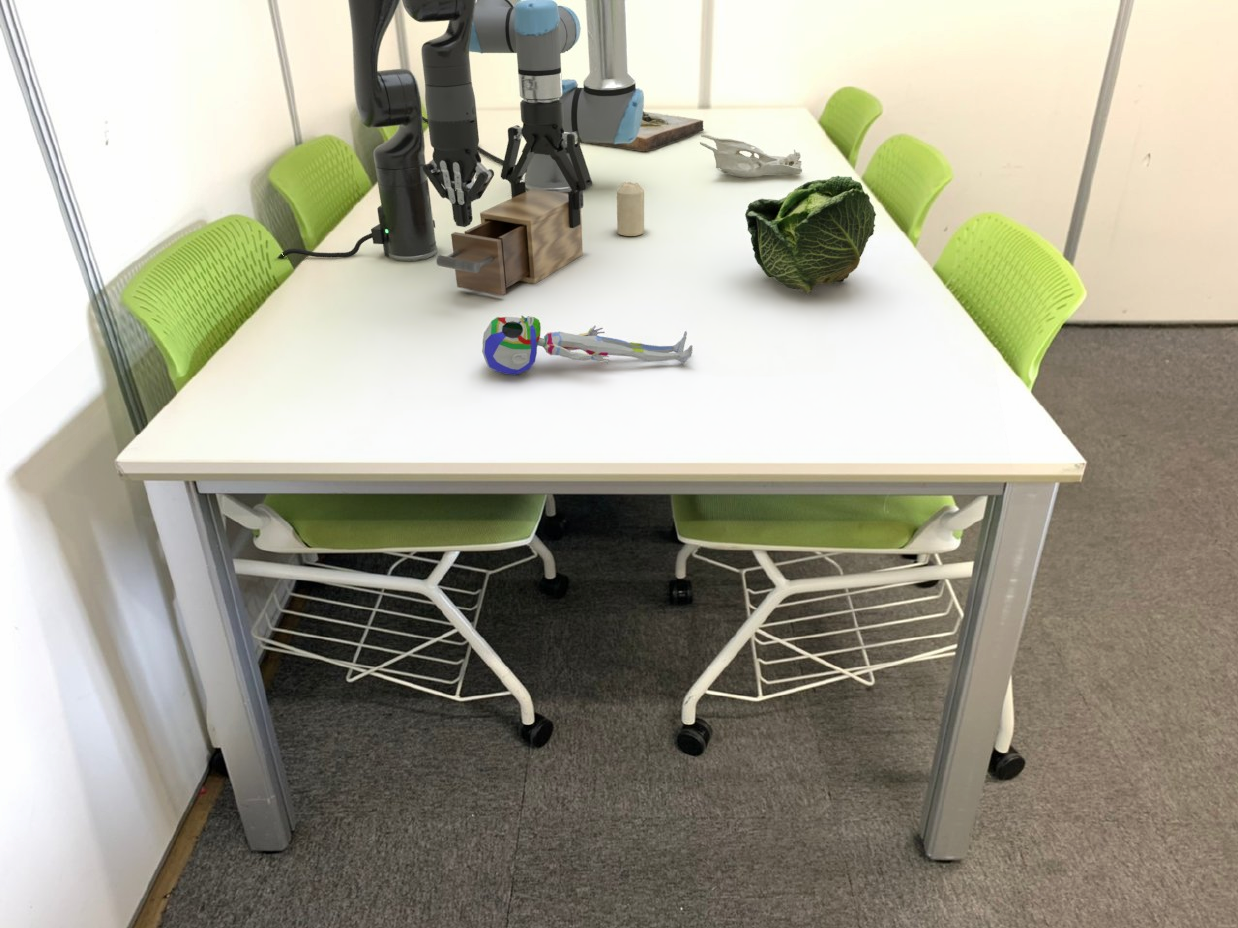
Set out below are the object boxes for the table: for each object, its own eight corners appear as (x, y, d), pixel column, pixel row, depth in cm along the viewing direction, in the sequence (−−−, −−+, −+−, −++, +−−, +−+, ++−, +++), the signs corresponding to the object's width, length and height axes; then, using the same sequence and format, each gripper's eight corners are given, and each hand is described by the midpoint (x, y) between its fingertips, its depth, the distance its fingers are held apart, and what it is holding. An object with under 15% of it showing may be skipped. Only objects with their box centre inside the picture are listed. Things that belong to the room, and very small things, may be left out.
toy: (697, 344, 127) (483, 326, 122) (687, 397, 131) (480, 382, 126) (685, 315, 135) (485, 298, 130) (676, 366, 139) (482, 351, 135)
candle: (647, 229, 186) (647, 180, 180) (639, 237, 181) (639, 187, 176) (622, 227, 187) (621, 178, 182) (613, 235, 183) (612, 185, 177)
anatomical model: (702, 130, 224) (803, 129, 220) (702, 168, 229) (801, 167, 225) (697, 145, 212) (805, 144, 208) (697, 184, 216) (802, 184, 213)
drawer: (482, 307, 149) (476, 252, 144) (436, 298, 153) (429, 243, 148) (551, 266, 165) (548, 215, 160) (508, 259, 169) (503, 208, 164)
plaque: (647, 125, 237) (559, 112, 252) (647, 153, 241) (560, 139, 256) (706, 107, 258) (622, 97, 273) (705, 133, 262) (622, 121, 277)
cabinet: (534, 284, 161) (530, 221, 155) (485, 274, 165) (479, 213, 159) (582, 254, 173) (580, 195, 167) (536, 246, 178) (532, 188, 172)
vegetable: (771, 309, 166) (722, 214, 159) (855, 252, 168) (810, 155, 160) (822, 325, 148) (769, 219, 140) (916, 260, 149) (868, 151, 142)
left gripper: (402, 115, 138) (417, 226, 147) (472, 122, 132) (483, 237, 142) (432, 106, 143) (445, 214, 153) (501, 113, 138) (510, 224, 147)
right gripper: (474, 97, 160) (485, 219, 171) (588, 108, 150) (592, 236, 162) (498, 90, 165) (507, 208, 177) (610, 100, 156) (612, 224, 167)
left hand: (463, 225), depth 147 cm, fingers closed
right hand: (548, 222), depth 169 cm, fingers open, 11 cm apart
